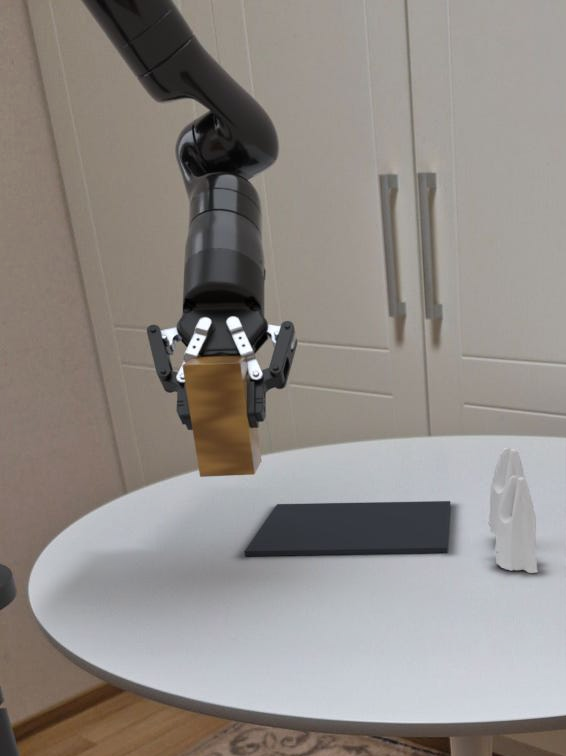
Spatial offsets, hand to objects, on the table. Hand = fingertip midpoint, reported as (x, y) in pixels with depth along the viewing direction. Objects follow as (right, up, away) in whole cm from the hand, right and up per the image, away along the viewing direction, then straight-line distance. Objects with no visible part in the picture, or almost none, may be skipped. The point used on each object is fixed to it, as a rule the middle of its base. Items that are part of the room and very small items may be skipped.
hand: (221, 423), depth 81 cm
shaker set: (+27, -11, +15) cm, 33 cm away
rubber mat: (+9, -7, +24) cm, 26 cm away
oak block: (0, -3, +4) cm, 5 cm away
